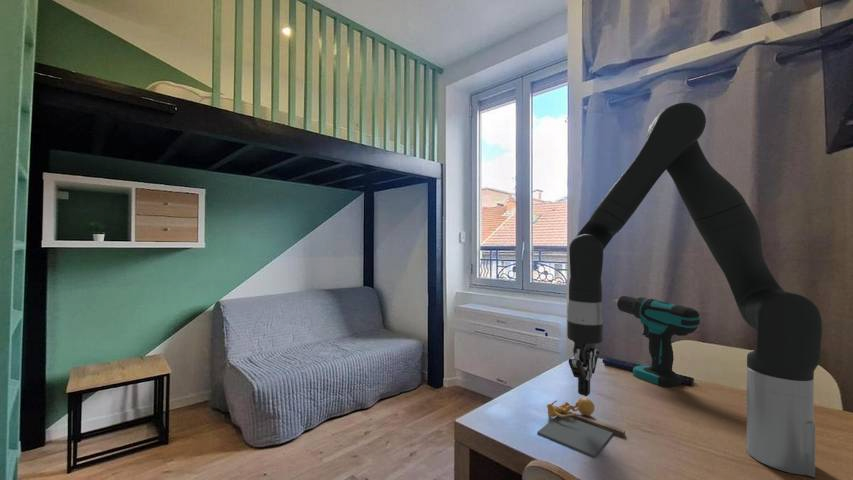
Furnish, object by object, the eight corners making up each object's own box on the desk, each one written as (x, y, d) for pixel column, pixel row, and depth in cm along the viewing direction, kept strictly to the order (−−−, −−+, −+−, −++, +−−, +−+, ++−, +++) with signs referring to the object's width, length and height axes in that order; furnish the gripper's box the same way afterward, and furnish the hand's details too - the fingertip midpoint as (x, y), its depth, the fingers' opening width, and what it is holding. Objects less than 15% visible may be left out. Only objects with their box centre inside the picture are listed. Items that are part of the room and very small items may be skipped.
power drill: (604, 365, 121) (604, 293, 121) (621, 362, 124) (621, 292, 125) (686, 396, 97) (687, 306, 97) (705, 390, 101) (705, 304, 101)
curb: (625, 435, 76) (625, 430, 76) (623, 437, 76) (623, 432, 76) (554, 410, 88) (554, 406, 88) (552, 411, 87) (552, 407, 87)
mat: (613, 434, 77) (613, 432, 77) (594, 457, 68) (594, 455, 68) (559, 415, 85) (559, 413, 85) (537, 433, 77) (537, 431, 77)
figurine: (605, 406, 82) (559, 396, 80) (600, 432, 81) (554, 422, 79) (583, 393, 90) (541, 384, 88) (579, 417, 89) (537, 408, 87)
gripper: (591, 327, 74) (590, 409, 73) (611, 318, 83) (610, 390, 83) (556, 321, 79) (556, 397, 79) (579, 313, 88) (578, 381, 88)
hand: (584, 394), depth 81 cm, fingers closed
